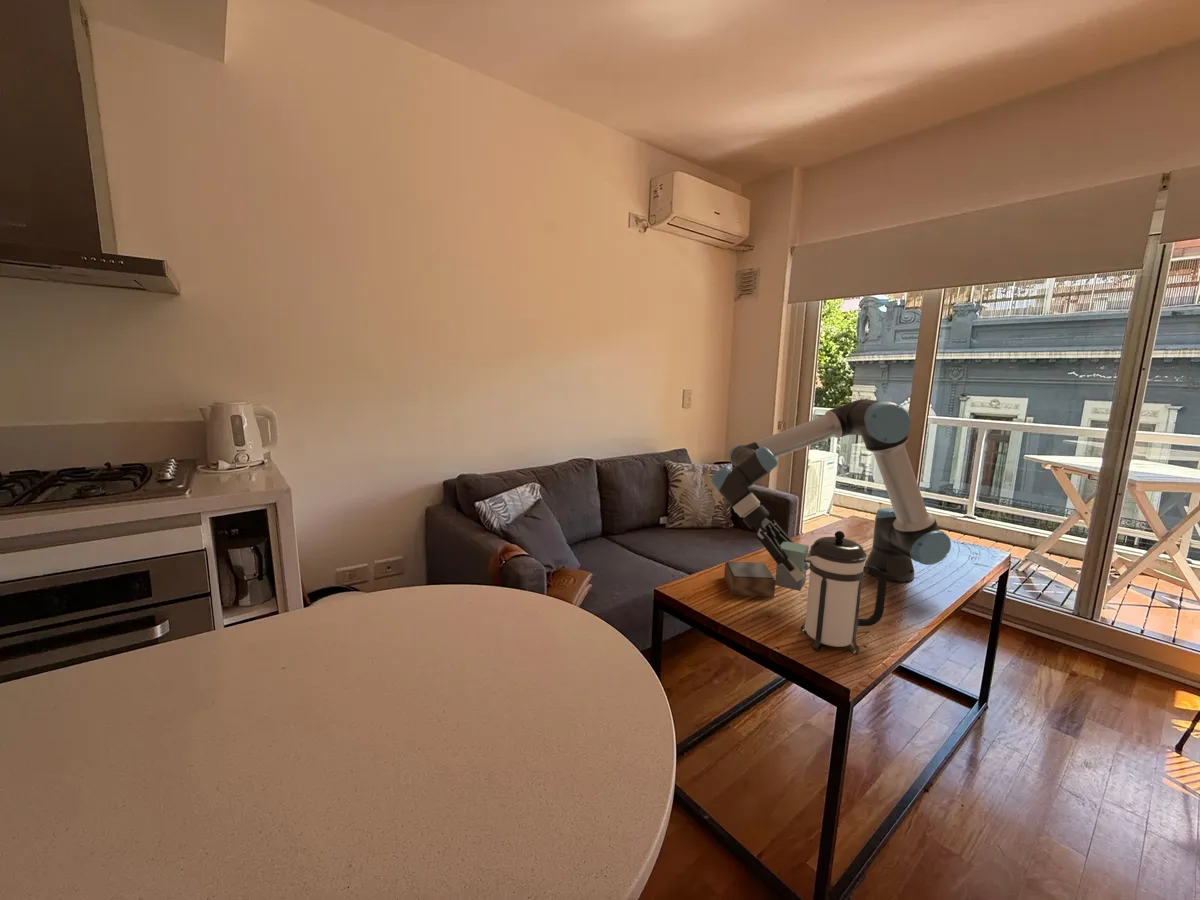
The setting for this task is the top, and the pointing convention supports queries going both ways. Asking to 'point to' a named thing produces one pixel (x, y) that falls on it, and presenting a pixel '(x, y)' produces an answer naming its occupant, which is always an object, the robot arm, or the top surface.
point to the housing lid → (796, 553)
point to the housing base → (789, 578)
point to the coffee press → (838, 592)
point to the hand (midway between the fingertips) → (803, 574)
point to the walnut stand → (749, 579)
